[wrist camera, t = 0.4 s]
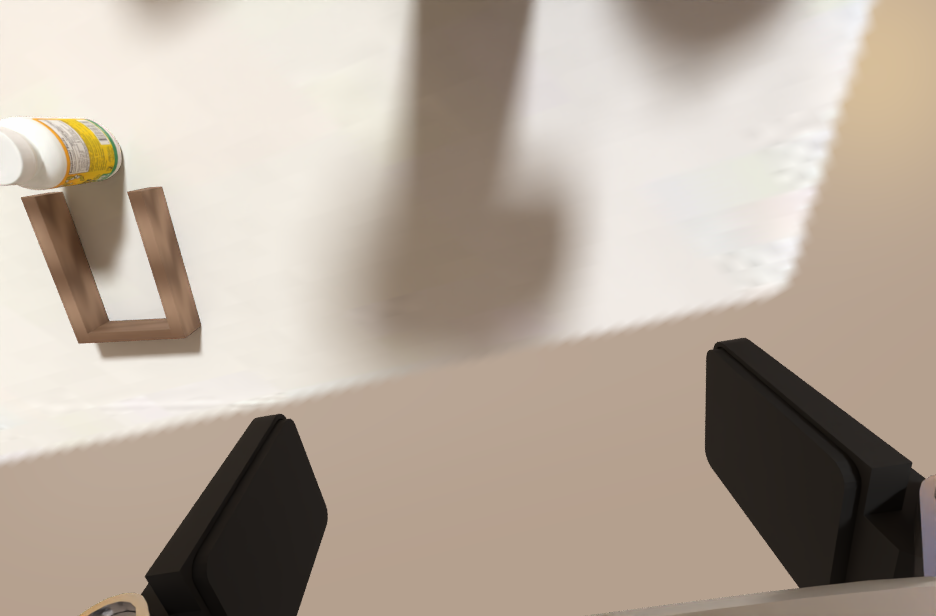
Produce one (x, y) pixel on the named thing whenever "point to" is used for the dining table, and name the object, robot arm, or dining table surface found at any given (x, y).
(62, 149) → the supplement bottle
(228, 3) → the dining table surface
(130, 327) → the u rest
